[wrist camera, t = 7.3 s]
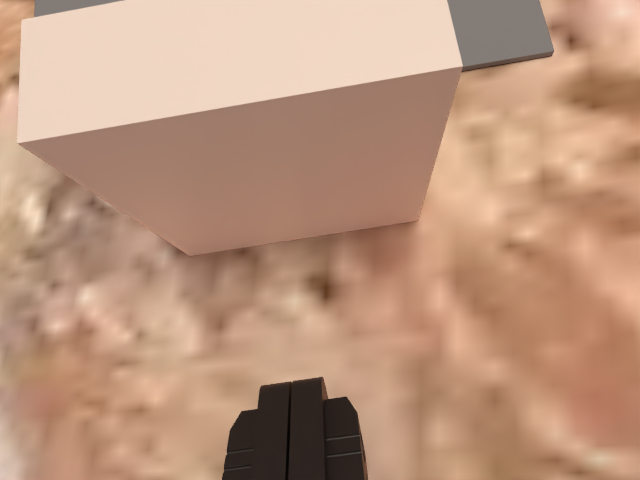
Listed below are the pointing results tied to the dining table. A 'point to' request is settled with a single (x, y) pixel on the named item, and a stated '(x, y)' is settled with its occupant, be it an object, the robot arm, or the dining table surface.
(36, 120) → the block
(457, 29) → the mat
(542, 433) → the dining table surface
